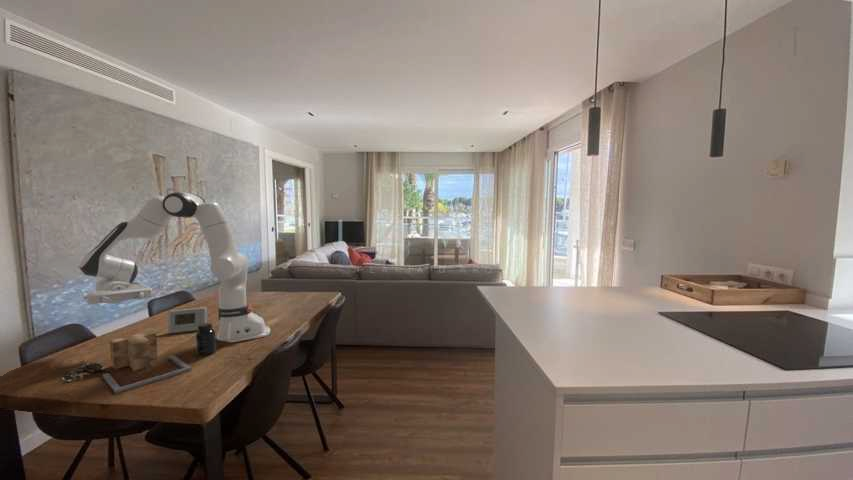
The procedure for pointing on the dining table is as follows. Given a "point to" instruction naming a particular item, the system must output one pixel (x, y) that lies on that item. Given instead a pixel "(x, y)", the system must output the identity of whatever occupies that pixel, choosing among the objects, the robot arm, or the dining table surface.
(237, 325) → the robot arm
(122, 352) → the notched wooden block
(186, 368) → the frame
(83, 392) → the dining table surface
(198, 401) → the dining table surface
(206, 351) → the supplement bottle
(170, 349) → the dining table surface
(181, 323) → the digital clock
